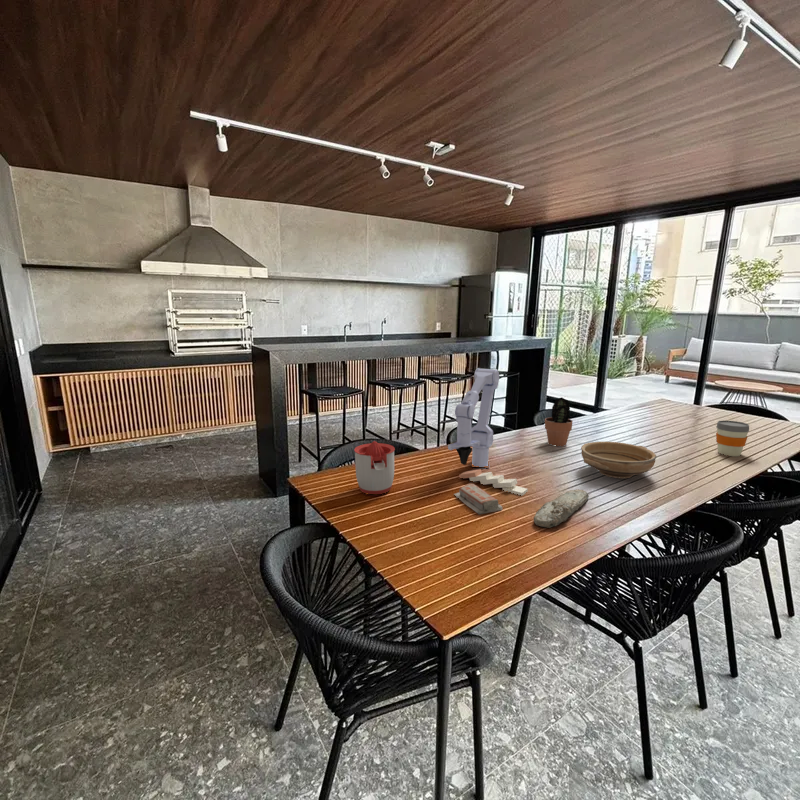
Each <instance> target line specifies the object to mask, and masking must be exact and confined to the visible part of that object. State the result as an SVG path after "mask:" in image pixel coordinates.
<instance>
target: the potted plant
mask: <svg viewBox="0 0 800 800" xmlns="http://www.w3.org/2000/svg"><path fill="white" fill-rule="evenodd" d="M570 411H571V407H570V404H569V401H568V400H567V399H565V398H564V397H559V398H557V399H555V400H554V402H553V405H552V407H551V416H550V417H546V418H544V429H545V430H546V438H547V443H549V444H548V445H550V444H552V445H556V446H555V447H558V446H561V447H565V446H567V444H568V439H569V436H570V432H571V431H573V430H572V428H573V420H572V418H571V419H570ZM552 445H551V446H552ZM564 445H565V446H564Z"/></svg>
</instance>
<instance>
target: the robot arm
mask: <svg viewBox="0 0 800 800" xmlns="http://www.w3.org/2000/svg"><path fill="white" fill-rule="evenodd" d="M473 377H474V382H473V384H472V386H471V389H470V390H468V391H467V392H466V394H465V396H464V397H463V399H462V401H461V402H460V403H459V404H457V405H456V406H455V409H454V415H455V420H456V421H455V422H457V424H456V425H457V427H456V430H457V431H456V433H457V434H456V435H457V436H456V441H455V442H453V443H450V444H449V443H448V445H447V450H449V451H453V450H455V451H456V452H457V454H458V456H459V460H460V464H461V465H464V466H465V465H467V463H468V460H469V458H470V455H472V458H471V460H472V464H473V465H474V466H479V467H484V466H488V461H489V455H490V451H489V450H490V449H489V448H491V446H493V443H494V430H493V429H492V428H491V427H490V426H489V423H490V422H489V421H490V417H491V416H490V415H491V411H492V410H491V409H492V405H493V398H494V392H495V390H497V389H498V386H499V382H500V372H499V370H498V369H497V368H495V369H493V368H492V369H491V368H481V367H478V368H476V369H475V371H474V375H473ZM481 391H482V393H481ZM480 393H481V399H480V395H479V394H480ZM479 400H480V406H479V410H478V411H479V412H478V418H477V424H475V425H474V426H472V419H473V417H474V415H475V410H476V405H477V403H478V402H479ZM471 453H472V454H471Z"/></svg>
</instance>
